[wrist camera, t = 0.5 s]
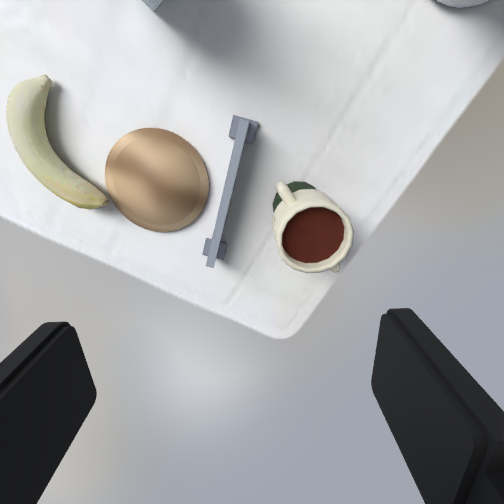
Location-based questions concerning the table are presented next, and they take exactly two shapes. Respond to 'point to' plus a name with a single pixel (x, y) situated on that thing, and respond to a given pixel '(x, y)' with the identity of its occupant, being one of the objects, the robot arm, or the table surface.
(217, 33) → the table surface
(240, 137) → the grey cabinet handle
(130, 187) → the coaster
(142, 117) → the table surface
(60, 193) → the fruit
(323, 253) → the character mug
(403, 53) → the table surface
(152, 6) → the skincare box
